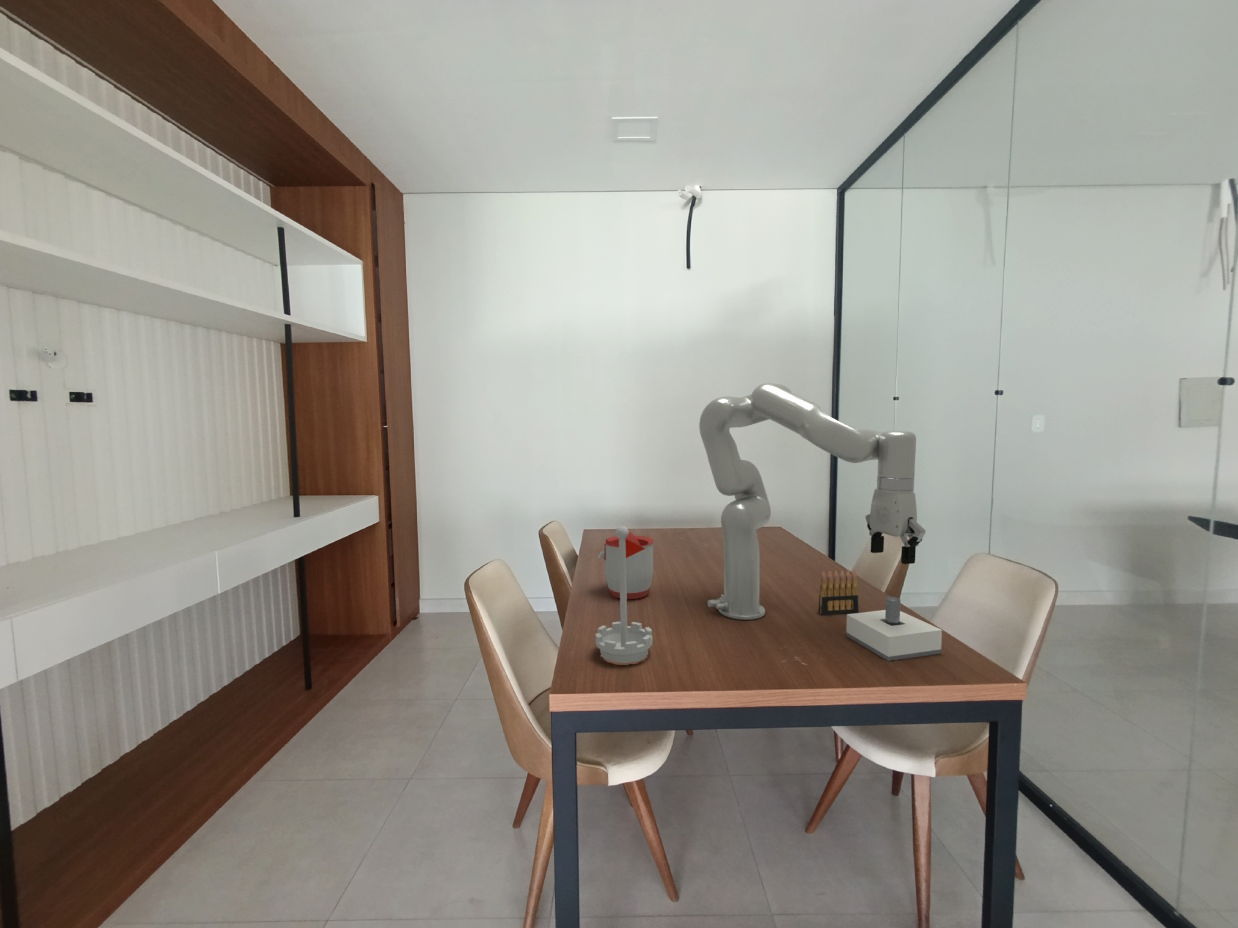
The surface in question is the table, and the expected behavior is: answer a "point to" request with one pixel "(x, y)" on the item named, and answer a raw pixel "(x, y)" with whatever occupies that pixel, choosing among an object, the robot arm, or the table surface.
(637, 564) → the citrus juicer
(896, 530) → the robot arm
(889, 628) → the socket block
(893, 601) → the pin
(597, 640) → the flag stand
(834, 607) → the ammunition clip
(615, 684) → the table surface
